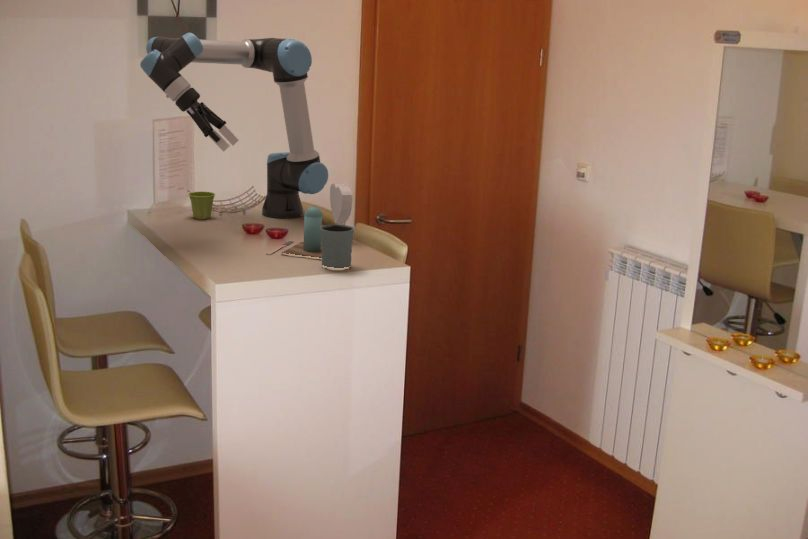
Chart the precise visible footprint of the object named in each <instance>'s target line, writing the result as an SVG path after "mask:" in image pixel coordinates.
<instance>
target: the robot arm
mask: <svg viewBox="0 0 808 539" xmlns="http://www.w3.org/2000/svg"><path fill="white" fill-rule="evenodd" d="M191 63H195V64H196V63H198V64H220V65H221V64H222V65H241V66H242V67H243V68H245V69H255V70H260V71H264V72H268V73H272V77H273V82H274V83H275V84H276V85H277V86H278V87H279V92H280V93H279V94H280V97H281V98H280V99H281V104H282V110H283V119H284V123H285V130H286V136H287V141H288V143H287V144H288V148H289V151H288V152H274V153H273V152H272V153H269V154H268V155H267V159H266V196H265V199H264V201H263V205H262V208H261V214H262V215H263V216H265V217H268V218H274V219H295V218H299V217H302V216H303V215H304V207H303V204H302V200H301V197H300V192H301V193H302V194H304V195H305V194H306V195H307V194H309V195H315V194H318V193H319V192H321V191H322V190H323V189H324V188H325V186H326V185H327V183H328V181H329V170H328V168H327V166H326V164H324V163H322V162H321V159H320V158H321V157H320V153H319V151H317V150H316V149H315V147H314V140H313V133H312V128H311V120H310V113H309V107H308V99H307V93H306V87H305V83H306V81H307V80H308V77H309V76H308V72H309V71H310V69H311V68H310V67H311V66H312V63H313V58H312V54H311V51H310V49H309V47H308V46H307V45H306V44H305V43H304V42H302V41H300V40H298V39H297V40H296V39H293V38H277V37H267V38H252V39H251V38H250V39H249V38H245V39H243V40H242V41H234V40H233V41H231V40H217V39H200V38H199V37H198V36H197V35H195V34H194V33H193V32H187V33H185V34H183V35H181V37H179V38H177V37H165V36H154V37H151V38H150V39H149V40H148V41H147V42H146V56H144V57H143V58H142V59H141V61H140V65H139V66H140V68H141V69H142V70H143V72H144V74H146V75H147V77H148V78H149V79H151V81H152V82H154V83H155V85H156V86H157V87H158V88H159V89H161V91H162V92H163V93H164V94H165V97H166V98H167V99H170V100H171V101H172V102H174V103H175V106H176V107H177V108H178V109H179V110H180V111H181V112H186V113H187V114H188V115H189V117H190V118H191V119H192V120H193V122H195V124H196V125H197V127H198V128H199V130H200V131H201V132H202V134H203V136H204V137H205V138H208V137H209V139H211V140H212V141H213V143H214V144H216V145H217V146H218V148H219V149H220V150H221V151H222V152H223V153H224V152H225V151H226V150H227V149H228V148H229V147H231V146H235V145H236V144H237V143H238V142H239V141H240V139H239V137H238V136H236V135H235V134H234V132H232V131H231V129H230V128H228V126H227V125H226V124H227V121H226V120H223V119H222V118H221V117H220V116H219V115H218V114H216V113H215V112H214V111H213V110H211V108H209V107H208V106H207V105H206V104H205V103H204V102H202V101H201V102H199V101H198V100H199V99H200V97H201V95H200V93H199V92H198V90H196V89H195V88H194V87H192V86H191V83H189V81H188V80H187V79H186V78H185V77H184V76H183V75H182V74H181V73H180V72H181V71H182V70H183V69H184V68H186V67H187V66H188V65H189V64H191ZM213 126H214V127H215V128H216V129H218V131H217V130H216V129H214V128H213ZM227 141H228V142H229V143H228V142H227Z"/></svg>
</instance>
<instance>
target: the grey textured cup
mask: <svg viewBox="0 0 808 539" xmlns="http://www.w3.org/2000/svg"><path fill="white" fill-rule="evenodd" d="M320 234H321V245H322V246H321V250H322V260H321V266H322V265H324V266H327V267H334V268H344V267H349V266H351V265H352V253H353V252H352V251H353V244H354V243H353V242H354V236H355V228H354V227H353V226H350V225H346V224H343V225H337V224H325V225H322V227H320ZM351 267H352V266H351Z"/></svg>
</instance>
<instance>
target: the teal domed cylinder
mask: <svg viewBox="0 0 808 539" xmlns="http://www.w3.org/2000/svg"><path fill="white" fill-rule="evenodd" d="M303 215H304V218H303V241H302V242H303V250H305V251H309V252H317V251H320V250H321V234H320V227H322V226H323V225H322V223H323V212H322V210H321V209H320V208H319V207H316V206H310V207H307V209H306V210H305V211H304V213H303Z"/></svg>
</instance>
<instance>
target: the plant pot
mask: <svg viewBox="0 0 808 539" xmlns="http://www.w3.org/2000/svg"><path fill="white" fill-rule="evenodd" d="M187 195H188V196H189V200H190V204H191V211H192V216H193V218H195V219H196V220H205V219H211V217H212V210H213V205H214V204H213V202H214V199H215V196H216V193H215V192H212V191H193V192H189V193H188V194H187Z"/></svg>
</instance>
